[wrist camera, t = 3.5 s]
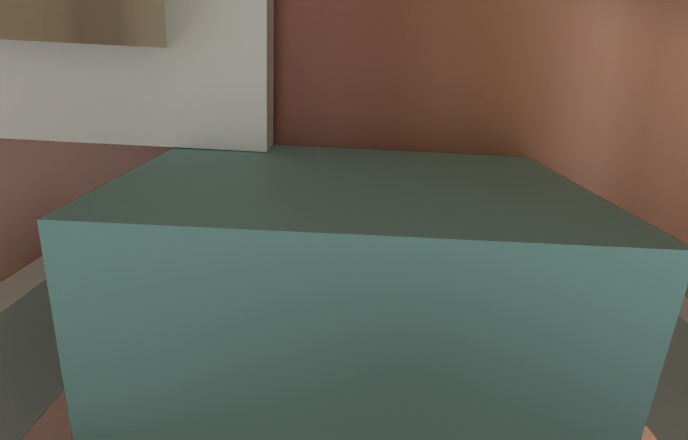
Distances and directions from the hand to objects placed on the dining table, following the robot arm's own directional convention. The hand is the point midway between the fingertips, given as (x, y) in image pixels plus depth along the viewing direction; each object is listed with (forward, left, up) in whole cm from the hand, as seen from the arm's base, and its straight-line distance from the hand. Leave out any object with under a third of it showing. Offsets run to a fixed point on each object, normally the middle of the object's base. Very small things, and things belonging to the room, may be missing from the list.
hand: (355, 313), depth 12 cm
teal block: (0, 0, -1) cm, 1 cm away
